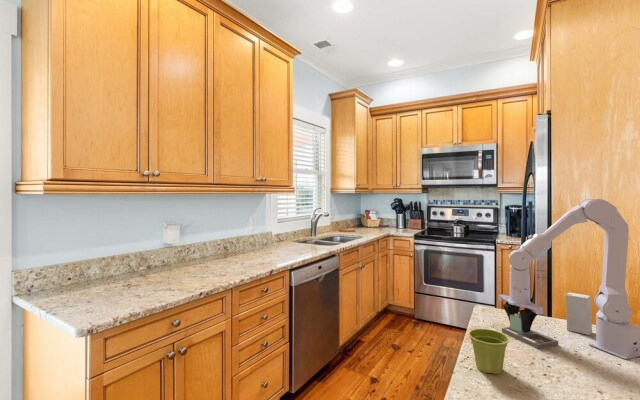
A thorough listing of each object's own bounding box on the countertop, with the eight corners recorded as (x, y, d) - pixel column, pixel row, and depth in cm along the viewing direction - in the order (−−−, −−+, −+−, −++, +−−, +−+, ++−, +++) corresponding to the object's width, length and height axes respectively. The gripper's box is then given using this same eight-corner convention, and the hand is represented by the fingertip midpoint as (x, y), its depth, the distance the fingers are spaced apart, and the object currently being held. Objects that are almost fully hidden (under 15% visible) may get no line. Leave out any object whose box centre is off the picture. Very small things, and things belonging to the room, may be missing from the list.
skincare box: (592, 332, 106) (592, 295, 106) (589, 336, 103) (588, 298, 103) (569, 326, 111) (569, 291, 111) (565, 330, 108) (565, 294, 108)
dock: (558, 345, 98) (558, 340, 98) (538, 349, 95) (538, 344, 95) (520, 328, 110) (520, 324, 110) (501, 331, 108) (501, 327, 108)
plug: (530, 335, 104) (530, 315, 104) (520, 337, 103) (520, 317, 103) (519, 331, 108) (519, 311, 108) (510, 332, 107) (509, 312, 107)
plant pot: (494, 382, 79) (493, 346, 79) (461, 365, 87) (461, 332, 87) (517, 372, 83) (517, 338, 83) (484, 356, 91) (483, 325, 91)
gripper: (491, 283, 111) (492, 322, 111) (530, 294, 97) (531, 340, 98) (508, 281, 113) (508, 319, 113) (548, 292, 99) (548, 336, 100)
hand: (520, 329), depth 106 cm, fingers closed on plug, 4 cm apart
